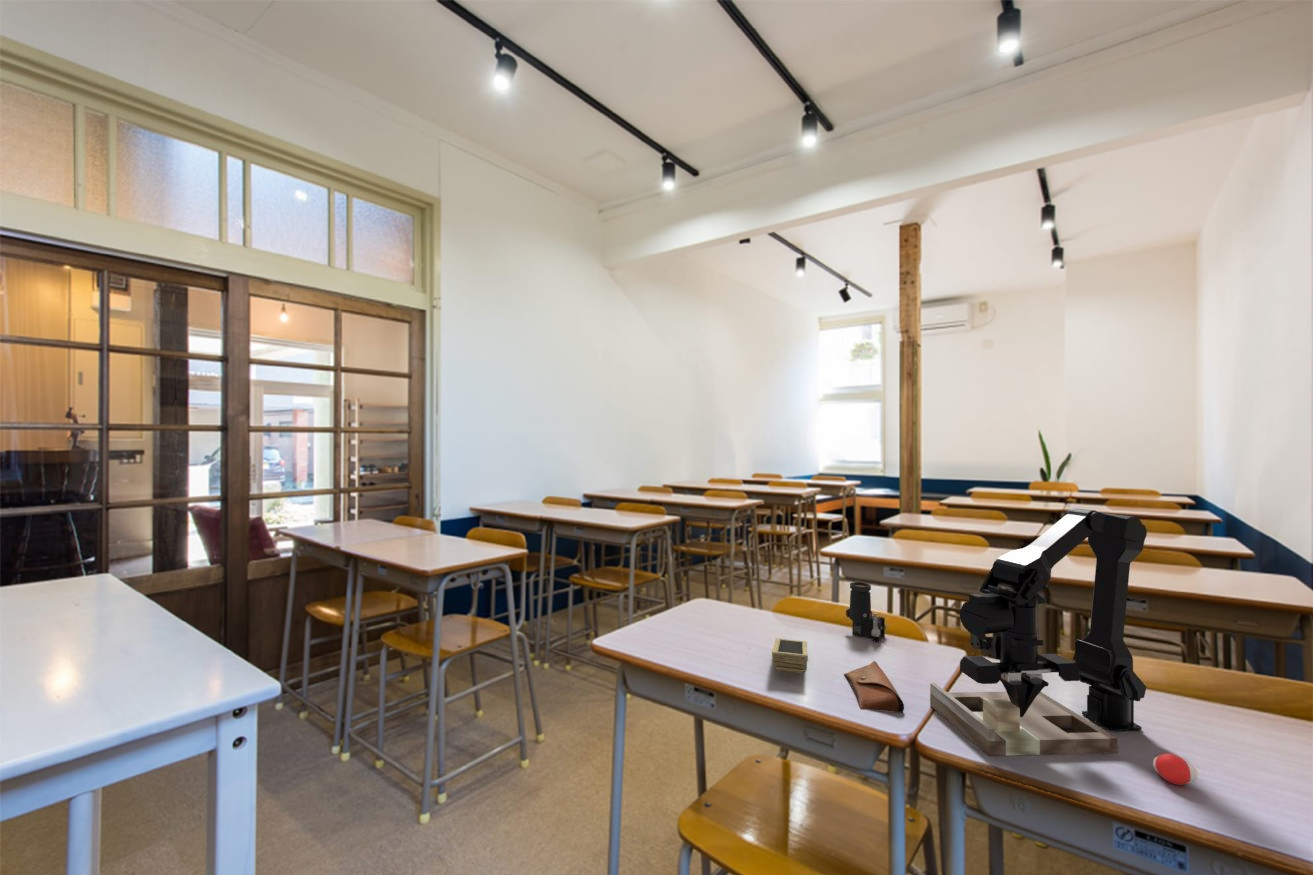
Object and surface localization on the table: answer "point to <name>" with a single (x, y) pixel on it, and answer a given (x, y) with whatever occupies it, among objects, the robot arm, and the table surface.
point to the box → (790, 655)
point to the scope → (864, 613)
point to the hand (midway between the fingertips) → (1019, 715)
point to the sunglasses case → (874, 689)
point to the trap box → (1023, 726)
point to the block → (1001, 714)
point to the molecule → (1175, 769)
